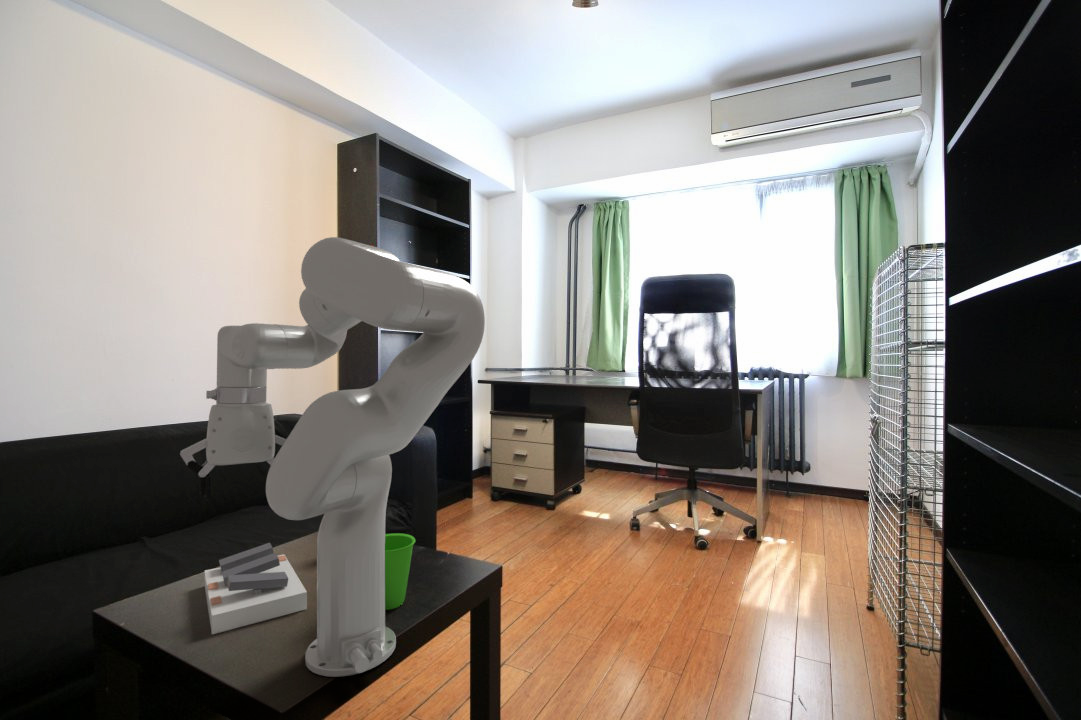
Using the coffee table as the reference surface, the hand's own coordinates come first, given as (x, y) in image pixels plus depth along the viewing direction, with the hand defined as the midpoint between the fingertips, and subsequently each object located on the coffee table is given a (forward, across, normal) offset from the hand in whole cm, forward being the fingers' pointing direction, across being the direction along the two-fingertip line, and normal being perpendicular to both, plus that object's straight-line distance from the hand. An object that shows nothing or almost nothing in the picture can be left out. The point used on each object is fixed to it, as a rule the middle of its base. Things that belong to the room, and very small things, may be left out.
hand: (240, 494), depth 88 cm
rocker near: (+16, +3, -1) cm, 16 cm away
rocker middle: (+16, +3, +6) cm, 18 cm away
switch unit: (+20, +3, +4) cm, 21 cm away
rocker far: (+17, +2, +13) cm, 21 cm away
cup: (+20, +23, -13) cm, 33 cm away
